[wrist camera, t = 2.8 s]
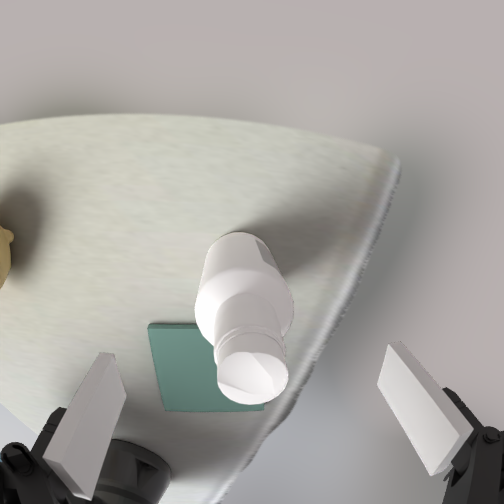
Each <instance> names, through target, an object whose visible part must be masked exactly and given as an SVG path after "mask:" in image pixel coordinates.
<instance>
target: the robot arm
mask: <svg viewBox="0 0 504 504" xmlns="http://www.w3.org/2000/svg"><path fill="white" fill-rule="evenodd" d="M377 386H378V388H379V390H380V391H381V393H382V394H383V396H384V398H385V399H386V401H387V403H388V404H389V406H390V408H391V409H392V411H393V413H394V414H395V416H396V418H397V419H398V421H399V423H400V424H401V426H402V427H403V429H404V431H405V432H406V434H407V436H408V438H409V439H410V441H411V443H412V445H413V446H414V448H415V450H416V451H417V453H418V455H419V457H420V458H421V460H422V462H423V463H424V465H425V467H426V469H427V471H428V472H429V474H430V476H433V475H435V474H437V473H439V472H441V471H444V470H445V469H446V468H447V466H448V465H449V464H450V462H451V463H452V465H453V466H454V467H453V468H452V469H451V470H450V472H449V473H448V474H447V475H446V477H445V478H444V480H443V481H446V480H447V479H448V477H449V476H450V477H449V481H448V485H447V489H446V492H445V496H444V499H443V503H442V504H504V431H501V432H500V431H499V430H497V429H496V428H494V427H490V426H488V427H484V426H482V424H481V423H480V422H479V421H478V420H477V418H476V417H475V416H474V414H473V413H472V412H471V411H470V410H469V408H468V407H466V405H465V404H464V403H463V401H461V399H460V398H459V397H458V395H457V394H456V393H455V392H453V391H452V390H450V389H448V388H447V387H446V388H443V389H441V387H439V385H438V384H437V383H436V381H435V380H434V379H433V378H432V377H431V376H430V374H429V373H428V372H427V371H426V370H425V368H424V367H423V366H422V365H421V364H420V363H419V362H418V360H417V359H416V358H415V357H414V356H413V355H412V353H411V352H410V351H409V350H408V349H407V348H406V347H405V345H404V344H403V343H402V342H401V341H400V342H394V343H389V344H388V347H387V351H386V354H385V358H384V362H383V365H382V369H381V372H380V376H379V379H378V382H377ZM126 397H127V395H126V392H125V389H124V386H123V383H122V380H121V376H120V373H119V370H118V366H117V363H116V359H115V355H114V354H111V353H99V355H98V357H97V358H96V360H95V361H94V363H93V365H92V366H91V368H90V370H89V372H88V373H87V375H86V377H85V378H84V380H83V382H82V384H81V385H80V387H79V389H78V391H77V392H76V394H75V396H74V398H73V399H72V401H71V403H70V405H69V407H68V409H66V408H61V407H59V408H58V409H56V410H55V411H54V412H53V413H52V414H51V415H50V417H49V419H48V420H47V422H46V424H45V426H44V427H43V431H41V433H40V435H39V436H38V438H37V440H36V442H35V444H34V446H33V448H32V450H31V451H29V450H28V448H27V447H26V446H24V444H22V443H19V442H12V443H9V444H7V445H6V446H5V447H4V448H3V449H2V451H1V452H0V504H158V503H159V501H160V499H161V498H162V496H163V494H164V493H165V491H166V489H167V488H168V486H169V484H170V478H171V470H170V468H169V466H168V465H167V463H166V462H165V461H164V460H162V459H161V458H160V457H158V456H157V455H155V454H154V453H152V452H150V451H148V450H146V449H144V448H142V447H139V446H137V445H134V444H131V443H127V442H123V441H118V440H111V438H112V435H113V432H114V429H115V427H116V424H117V421H118V418H119V416H120V413H121V410H122V407H123V405H124V402H125V399H126Z"/></svg>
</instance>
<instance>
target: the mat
mask: <svg viewBox="0 0 504 504" xmlns="http://www.w3.org/2000/svg"><path fill="white" fill-rule="evenodd" d="M147 329H148V335H149V340H150V346H151V351H152V356H153V361H154V366H155V370H156V375H157V379H158V384H159V388H160V392H161V397H162V401H163V405H164V408H165V411H182V412H239V411H260V410H264V403H261V404H253V405H248V404H241V403H237V402H235V401H232V400H230V399H229V398H228V397H226V396H225V395H224V394H223V393H222V391H221V390H220V388H219V386H218V381H217V365H216V363H215V360H214V346H213V345H212V344H211V343H210V342H209V341H208V340H207V339H206V338H205V337H204V336H203V335H202V333H201V331H200V329H199V327H198V325H197V324H149V326H148V328H147Z"/></svg>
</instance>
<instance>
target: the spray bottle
mask: <svg viewBox="0 0 504 504" xmlns="http://www.w3.org/2000/svg"><path fill="white" fill-rule="evenodd" d="M194 309H195V317H196V323H197V325H198V327H199V329H200V331H201V333H202V335H203V336H204V337H205V338H206V339H207V340H208V341H209V342H210V343H211V344H212V345H213V346H214V360H215V363H216V365H217V381H218V386H219V388H220V390H221V391H222V393H223V394H224V395H225V396H226V397H228V398H229V399H230V400H232V401H235V402H237V403H241V404H248V405H253V404H261V403H264V402H268V401H270V400H272V399H274V398H275V397H277V396H278V395H279V394H280V393H281V392H282V391H283V390H284V389H285V387H286V385H287V383H288V377H289V372H288V368H287V365H286V362H285V354H286V347H285V344H284V341H283V336H284V335H285V334H286V333H287V331H288V330H289V328H290V325H291V322H292V320H293V312H294V301H293V299H292V296H291V293H290V290H289V288H288V286H287V284H286V282H285V280H284V278H283V276H282V274H281V272H280V270H279V268H278V266H277V264H276V262H275V260H274V258H273V256H272V254H271V252H270V250H269V248H268V247H267V246H266V245H265V243H264V242H263V241H262V240H261V239H259V238H258V237H256V236H254V235H252V234H248V233H244V232H235V233H230V234H227V235H224V236H222V237H220V238H219V239H218V240H217V241H215V242H214V243H213V244H212V246H211V247H210V249H209V251H208V252H207V256H206V260H205V264H204V268H203V273H202V277H201V281H200V286H199V290H198V295H197V299H196V304H195V308H194Z"/></svg>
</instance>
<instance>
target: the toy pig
mask: <svg viewBox="0 0 504 504" xmlns="http://www.w3.org/2000/svg"><path fill="white" fill-rule="evenodd" d="M13 239H14V235H13V233H12V232H11V231H10V230H6V229H3V228H2V227H1V226H0V289H1V287H2V286H3V284H4V282H5V280H6V278H7V275H8V272H9V270H10V268H11V262H10V261H11V253H10V246H9V243H11V242H12V241H13Z"/></svg>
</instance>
